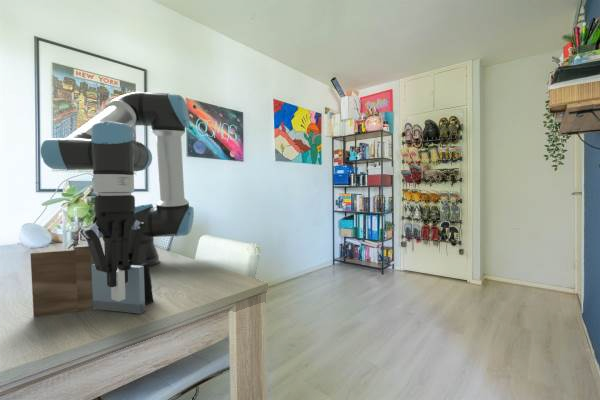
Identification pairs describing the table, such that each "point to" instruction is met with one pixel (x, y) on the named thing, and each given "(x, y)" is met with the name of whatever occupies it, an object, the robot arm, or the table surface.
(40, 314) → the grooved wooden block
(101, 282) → the light blue flat panel
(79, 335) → the table surface
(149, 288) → the speaker
